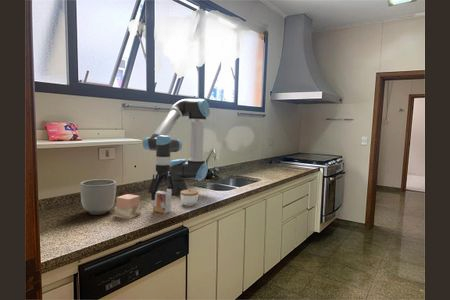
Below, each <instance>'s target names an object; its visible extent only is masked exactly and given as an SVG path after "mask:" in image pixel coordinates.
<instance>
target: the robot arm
mask: <svg viewBox="0 0 450 300" xmlns="http://www.w3.org/2000/svg"><path fill="white" fill-rule="evenodd" d="M210 109H211V108H210V104H209V102H208V101H207V100H206V99H204V98H184V99H181V100H178V101H177V102H175V103H174V104H173V105H172V106H171V107H170V108H169V110H168V113H167V114H166V116H165V117H164V119H163V120H162V121H161V123H160V124H159V125H158V126H157V128H156V129H155V131H154V132H153V134H152V135H151V136H148V137H145V138H144V139H143V140H142V147H143V149H144V150H146V151H150V152H151V151H153V152H156V153H155V154H156V155H155V172H156V174H155V173H154V174H153V175H152V180H151V182H150V186H149V189H148V193H149V194H151V196H150V197H151V203H150V204H151V206H152V207H153V206H157V194H156V192H157V191H159V187H160V185H161V184H162V183H164V184H165V186H166V192H171V195H177V196H178V195H180V192H181V191H182V190H189V186H188V184H187V179H188V180H189V179H191V180H196V181H200V180H201V181H202V180H204V179H205V178H206V176H207V173H208V170H209V165H208V163H207V162H206V159H205V158H204V155H203V154H204V134H205V133H204V131H205V130H204V129H205V127H204V126H205V122H206V120H207V117H208V118H209V116H210V114H211V113H210V111H211V110H210ZM183 117H188V120H189V121H190V142H189V143H190V144H189V145H190V148H189V149H190V150H189V154H190V155H189V158H188V159H187V158H180V159H179V158H178V159H173V160H171V153H177V152H180V151H181V150H182V148H183V142H182V141H181V140H180V139H178V138H172V137H171V136H170V135H169V134H170V133H171V131H172V130H173V128H174V127H175V126H176V124H177V123H178V121H179V120H181V119H182V118H183Z"/></svg>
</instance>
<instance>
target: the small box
mask: <svg viewBox="0 0 450 300" xmlns="http://www.w3.org/2000/svg"><path fill="white" fill-rule="evenodd" d="M156 194H157V206H152V212H156V213H160V214H167V213H169V212H171V210H172V209H171V208H172V194H171V192H167V191H164V190H163V191H162V190H157V192H156Z"/></svg>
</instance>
